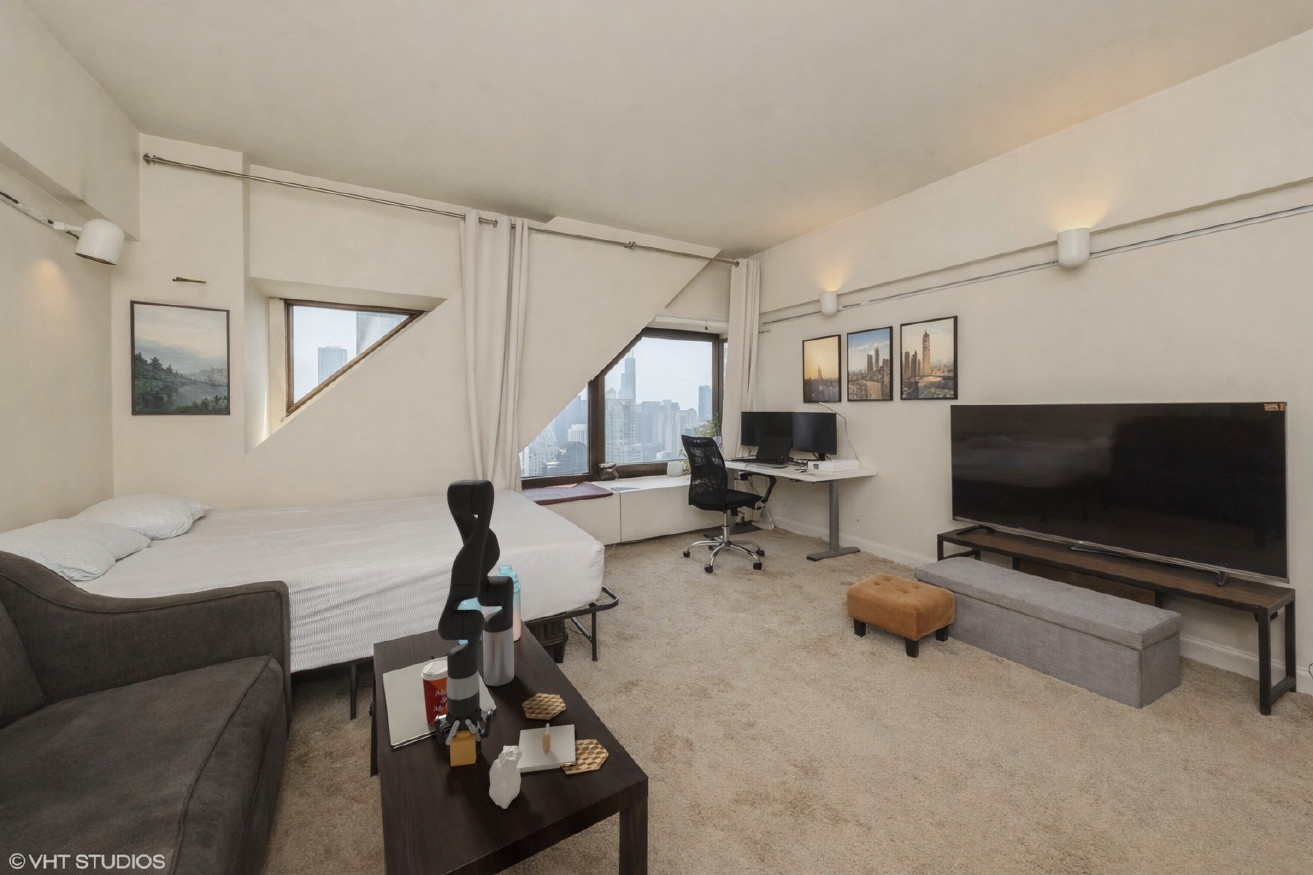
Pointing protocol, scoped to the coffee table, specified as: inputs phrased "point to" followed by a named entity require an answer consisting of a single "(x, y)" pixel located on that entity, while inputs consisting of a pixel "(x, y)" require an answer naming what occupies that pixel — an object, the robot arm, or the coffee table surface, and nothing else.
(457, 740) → the domed orange cube
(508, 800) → the bust
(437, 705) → the coffee cup
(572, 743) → the plate
